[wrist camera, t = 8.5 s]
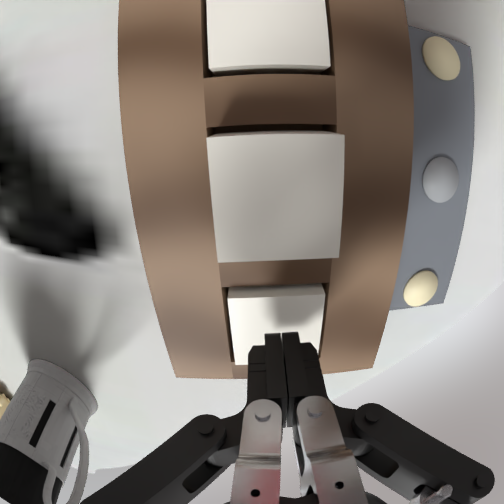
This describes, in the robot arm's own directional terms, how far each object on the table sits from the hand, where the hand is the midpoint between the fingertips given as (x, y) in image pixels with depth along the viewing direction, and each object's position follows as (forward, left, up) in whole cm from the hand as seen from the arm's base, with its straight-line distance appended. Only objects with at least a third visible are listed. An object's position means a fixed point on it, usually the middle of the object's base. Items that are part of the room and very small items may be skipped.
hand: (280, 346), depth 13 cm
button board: (-7, 0, -5) cm, 8 cm away
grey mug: (+11, -19, -5) cm, 23 cm away
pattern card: (-7, +9, -5) cm, 12 cm away
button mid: (-7, 0, -3) cm, 7 cm away
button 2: (-14, 0, -4) cm, 14 cm away
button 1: (0, 0, -4) cm, 4 cm away
